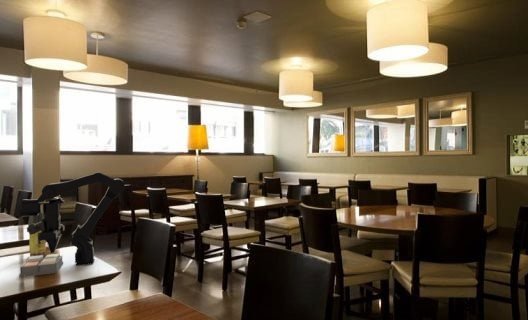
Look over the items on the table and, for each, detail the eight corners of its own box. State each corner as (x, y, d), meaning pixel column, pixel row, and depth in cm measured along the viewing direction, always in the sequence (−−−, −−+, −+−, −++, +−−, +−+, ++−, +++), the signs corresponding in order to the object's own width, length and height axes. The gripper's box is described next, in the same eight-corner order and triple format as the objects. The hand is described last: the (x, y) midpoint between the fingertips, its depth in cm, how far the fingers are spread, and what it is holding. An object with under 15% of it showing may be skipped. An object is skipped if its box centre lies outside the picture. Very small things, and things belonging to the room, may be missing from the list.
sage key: (59, 258, 153) (59, 253, 153) (57, 261, 149) (57, 256, 149) (47, 259, 152) (47, 254, 152) (45, 262, 148) (45, 257, 148)
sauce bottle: (40, 257, 164) (39, 213, 163) (26, 258, 164) (25, 213, 163) (49, 253, 170) (48, 211, 170) (35, 253, 170) (34, 211, 170)
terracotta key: (39, 266, 146) (39, 261, 146) (36, 269, 141) (36, 264, 141) (26, 267, 144) (26, 262, 144) (23, 271, 140) (23, 266, 140)
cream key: (56, 262, 147) (56, 257, 147) (54, 265, 143) (54, 260, 143) (44, 263, 146) (44, 258, 146) (41, 266, 142) (41, 261, 142)
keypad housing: (63, 263, 155) (63, 255, 154) (57, 272, 143) (56, 263, 143) (28, 267, 150) (28, 258, 150) (19, 276, 139) (19, 267, 139)
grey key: (43, 260, 151) (43, 255, 151) (40, 263, 147) (40, 258, 147) (31, 261, 150) (30, 256, 150) (27, 264, 146) (27, 259, 146)
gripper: (34, 212, 156) (35, 249, 157) (21, 220, 139) (23, 261, 139) (64, 210, 160) (65, 246, 160) (55, 217, 142) (56, 258, 142)
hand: (52, 252), depth 150 cm, fingers closed
